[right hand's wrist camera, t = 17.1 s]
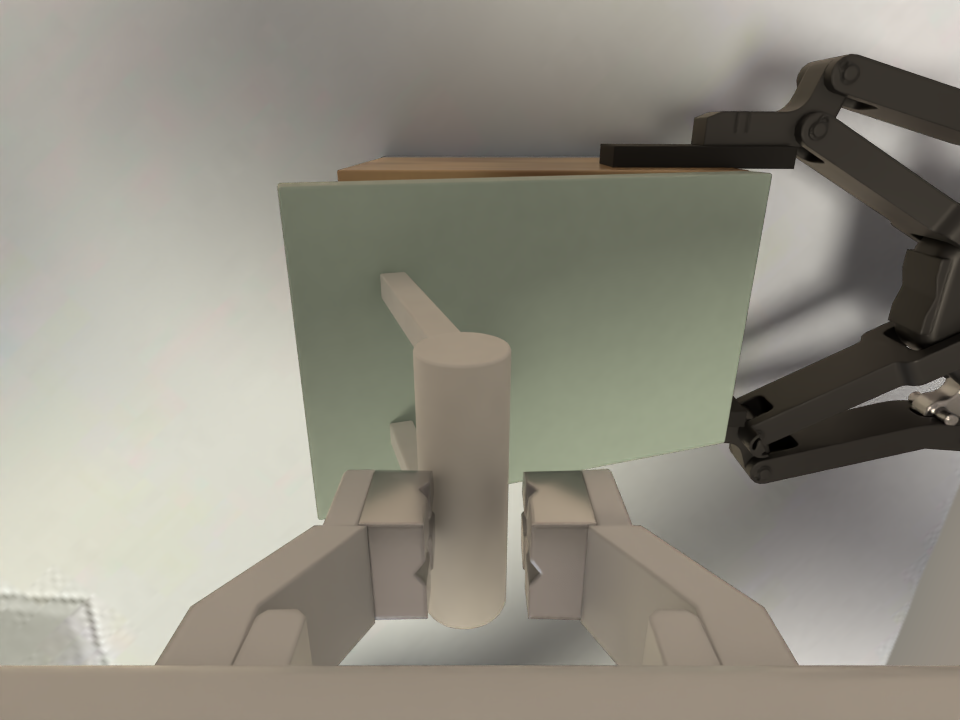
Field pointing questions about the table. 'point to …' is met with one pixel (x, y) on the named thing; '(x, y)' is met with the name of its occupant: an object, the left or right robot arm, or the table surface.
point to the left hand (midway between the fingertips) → (595, 290)
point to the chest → (490, 167)
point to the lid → (514, 336)
